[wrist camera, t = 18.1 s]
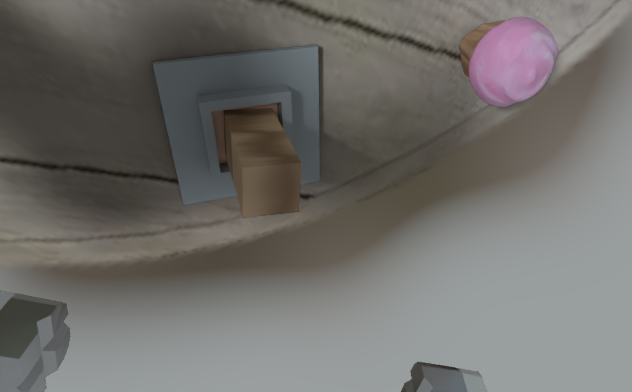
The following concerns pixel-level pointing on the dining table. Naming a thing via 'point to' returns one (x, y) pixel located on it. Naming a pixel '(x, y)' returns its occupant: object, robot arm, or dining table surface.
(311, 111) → the housing
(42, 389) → the robot arm
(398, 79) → the dining table surface
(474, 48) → the cupcake
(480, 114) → the dining table surface
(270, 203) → the block
